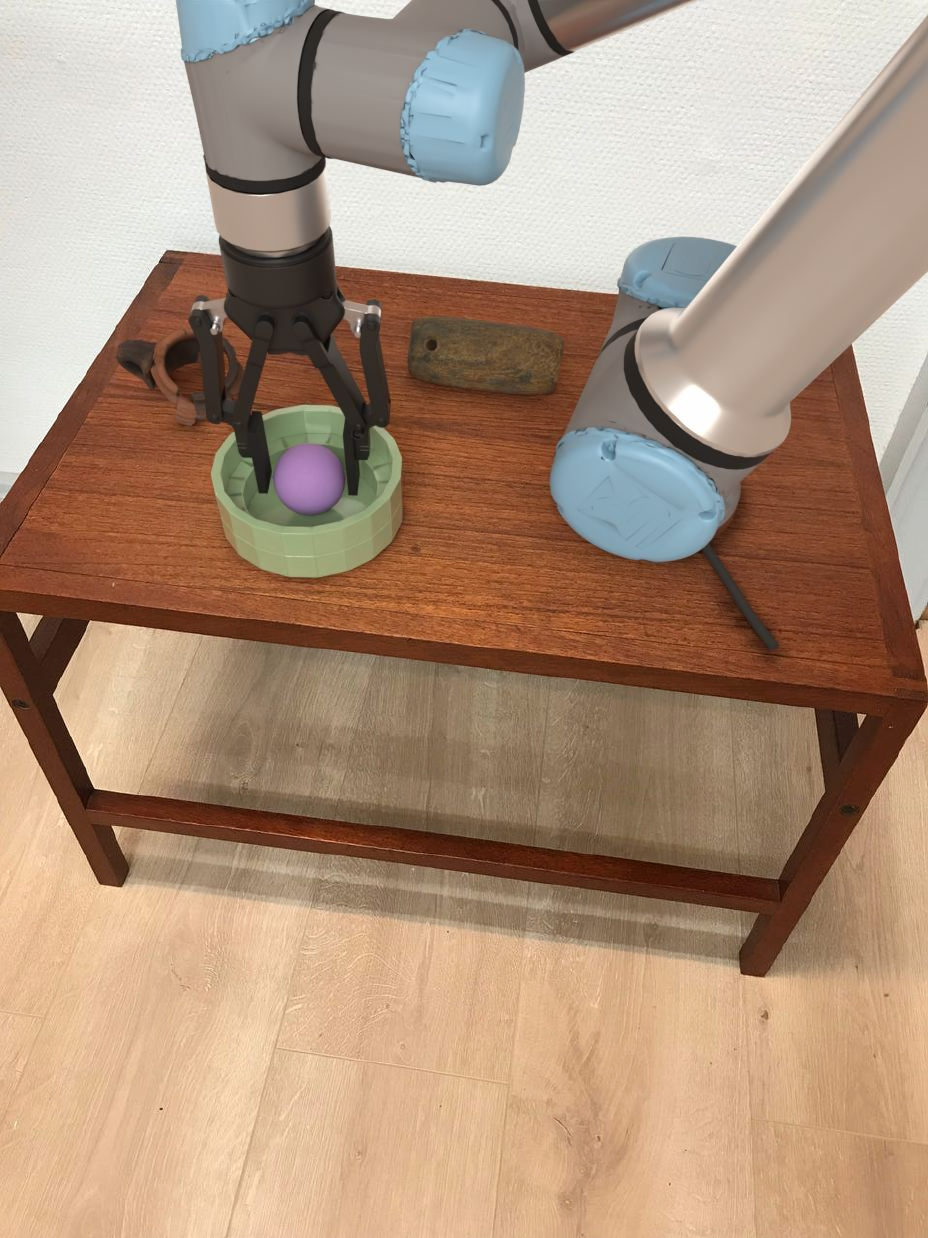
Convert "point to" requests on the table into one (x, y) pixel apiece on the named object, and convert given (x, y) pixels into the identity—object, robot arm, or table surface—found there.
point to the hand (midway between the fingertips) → (309, 482)
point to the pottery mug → (169, 356)
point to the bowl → (309, 540)
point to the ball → (309, 479)
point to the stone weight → (484, 355)
